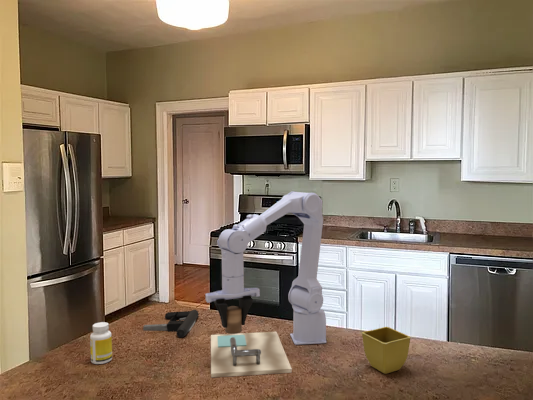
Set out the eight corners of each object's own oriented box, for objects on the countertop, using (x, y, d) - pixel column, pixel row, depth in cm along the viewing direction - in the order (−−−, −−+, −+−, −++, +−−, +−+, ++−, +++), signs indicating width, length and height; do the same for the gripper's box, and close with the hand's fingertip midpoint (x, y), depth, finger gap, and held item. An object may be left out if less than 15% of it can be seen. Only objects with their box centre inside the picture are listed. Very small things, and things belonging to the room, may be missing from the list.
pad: (244, 335, 136) (244, 334, 136) (246, 346, 128) (246, 344, 128) (217, 337, 135) (217, 336, 135) (218, 347, 127) (218, 346, 127)
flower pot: (383, 379, 110) (384, 343, 109) (360, 365, 117) (360, 331, 117) (410, 372, 114) (411, 336, 113) (386, 359, 121) (387, 326, 121)
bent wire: (257, 348, 126) (257, 335, 126) (261, 364, 116) (261, 350, 115) (229, 350, 125) (229, 336, 125) (231, 366, 115) (231, 352, 114)
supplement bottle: (116, 358, 123) (115, 322, 122) (101, 366, 118) (100, 329, 117) (101, 354, 125) (100, 320, 124) (86, 362, 120) (85, 326, 119)
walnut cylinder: (244, 332, 120) (243, 310, 119) (228, 334, 118) (227, 312, 117) (238, 326, 124) (238, 305, 123) (223, 329, 122) (222, 307, 122)
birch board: (276, 334, 139) (276, 331, 139) (291, 372, 114) (291, 368, 113) (210, 338, 137) (210, 334, 137) (211, 377, 111) (211, 373, 111)
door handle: (136, 330, 138) (188, 328, 137) (156, 310, 158) (202, 308, 157) (137, 341, 138) (189, 339, 137) (157, 319, 158) (202, 317, 157)
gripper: (252, 269, 126) (253, 317, 127) (202, 274, 121) (202, 324, 122) (262, 274, 120) (262, 325, 121) (209, 280, 114) (210, 333, 115)
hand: (233, 325), depth 121 cm, fingers closed on walnut cylinder, 4 cm apart
